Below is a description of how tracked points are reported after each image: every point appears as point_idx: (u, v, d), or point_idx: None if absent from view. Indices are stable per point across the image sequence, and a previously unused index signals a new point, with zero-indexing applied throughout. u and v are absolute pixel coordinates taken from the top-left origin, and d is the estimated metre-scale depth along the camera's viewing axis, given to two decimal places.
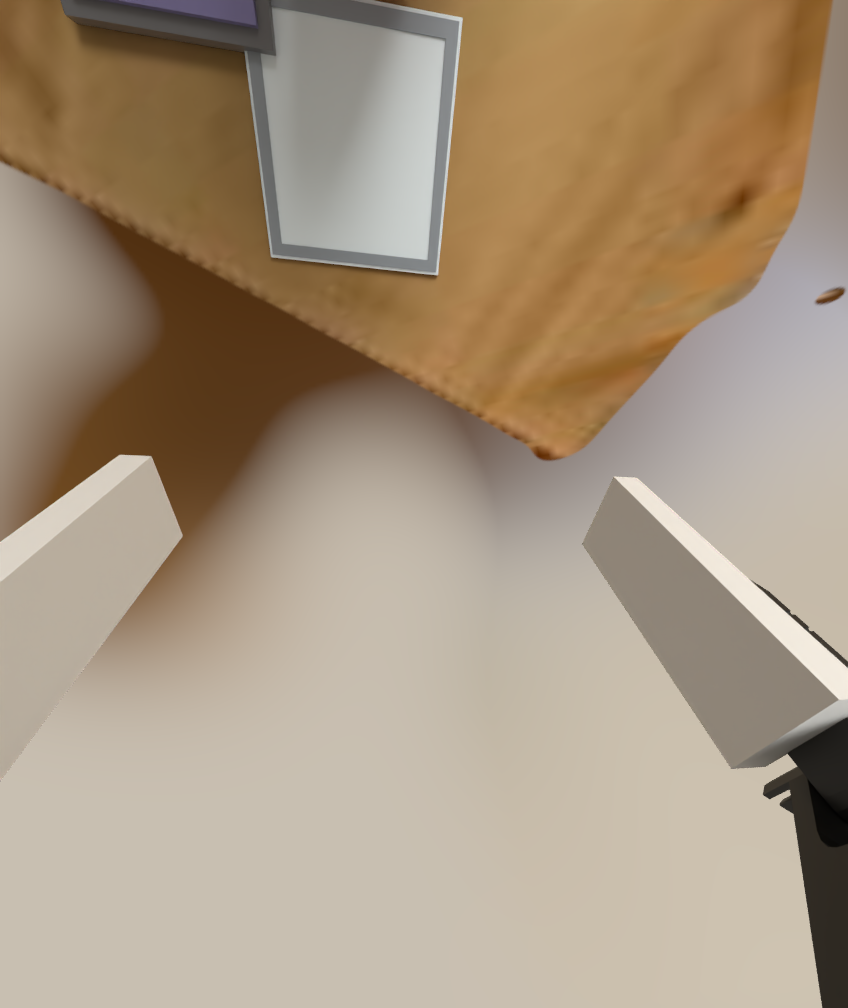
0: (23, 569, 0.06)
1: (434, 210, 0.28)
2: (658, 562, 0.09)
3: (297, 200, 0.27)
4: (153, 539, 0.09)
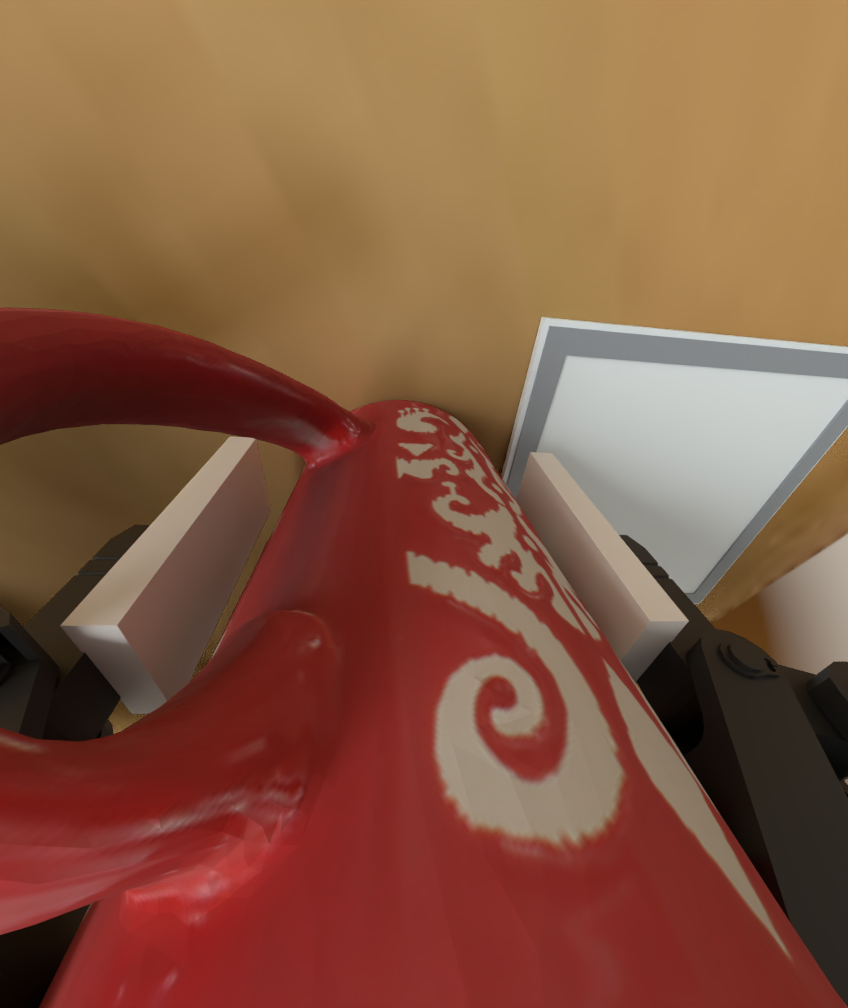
0: (197, 522, 0.07)
1: (795, 367, 0.13)
2: (554, 525, 0.10)
3: None
4: (256, 510, 0.11)
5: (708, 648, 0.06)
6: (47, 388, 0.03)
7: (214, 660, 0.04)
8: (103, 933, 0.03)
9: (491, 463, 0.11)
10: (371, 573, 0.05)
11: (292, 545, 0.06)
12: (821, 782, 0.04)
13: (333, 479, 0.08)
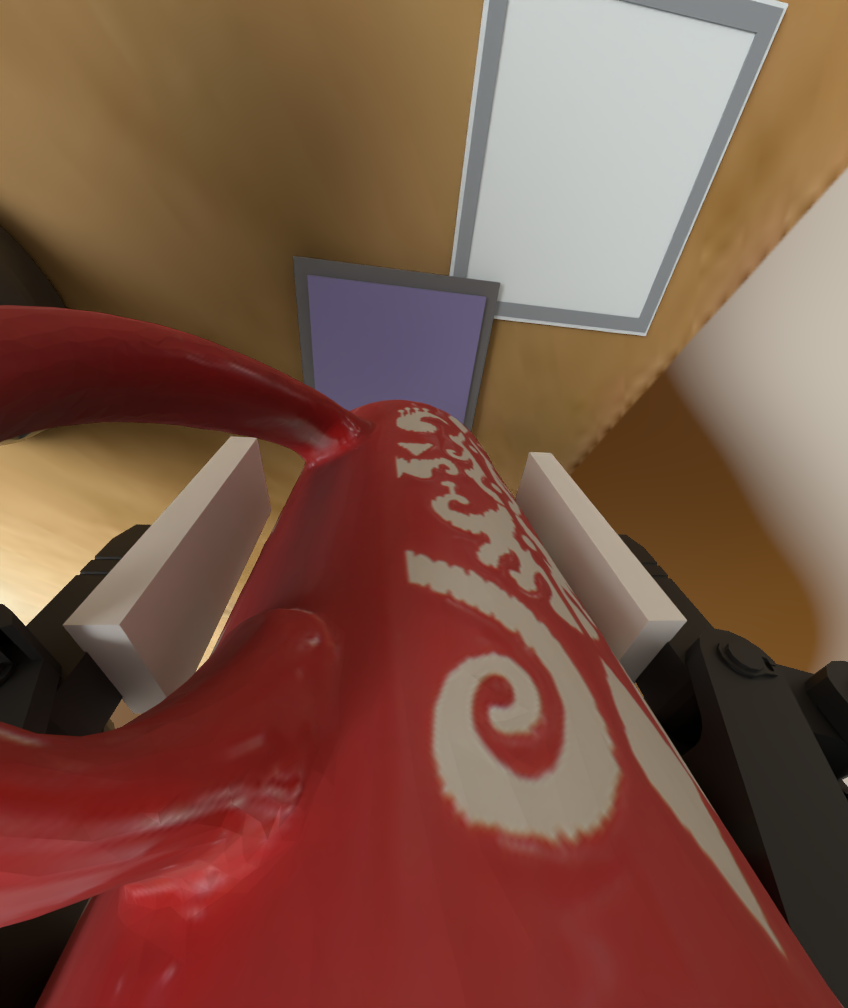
0: (198, 521, 0.07)
1: (696, 9, 0.16)
2: (554, 524, 0.10)
3: (608, 285, 0.22)
4: (257, 510, 0.11)
5: (707, 648, 0.06)
6: (48, 385, 0.03)
7: (213, 657, 0.04)
8: (102, 928, 0.03)
9: (490, 463, 0.11)
10: (371, 571, 0.05)
11: (291, 544, 0.06)
12: (819, 781, 0.04)
13: (333, 478, 0.08)
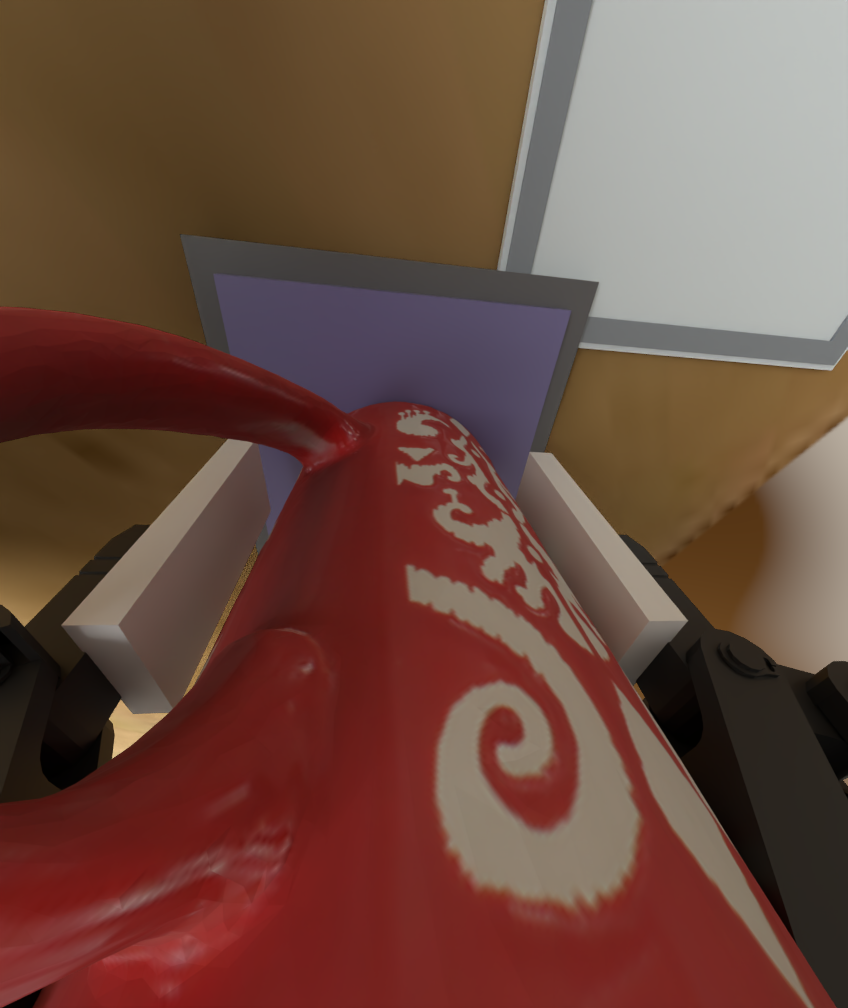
0: (198, 521, 0.07)
1: None
2: (554, 524, 0.10)
3: (792, 284, 0.12)
4: (256, 510, 0.11)
5: (707, 648, 0.06)
6: (12, 394, 0.03)
7: (198, 686, 0.04)
8: (69, 995, 0.03)
9: (493, 467, 0.11)
10: (369, 589, 0.05)
11: (286, 555, 0.06)
12: (820, 782, 0.04)
13: (330, 484, 0.08)
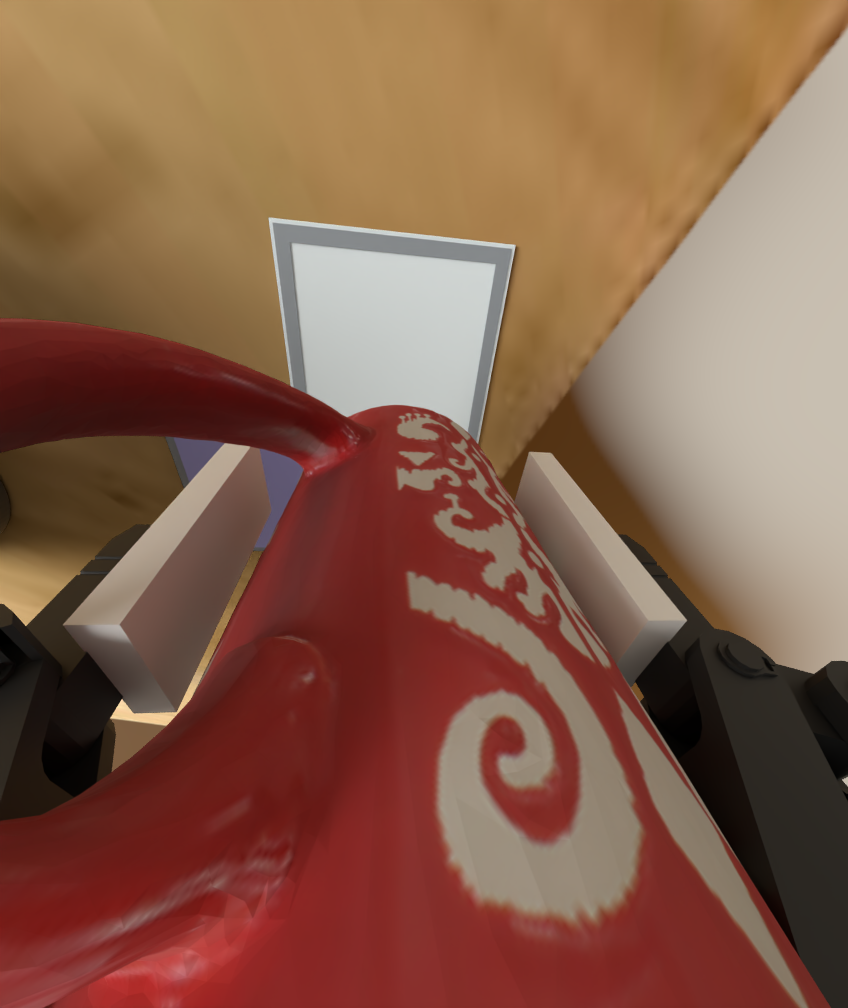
0: (199, 521, 0.07)
1: (442, 253, 0.21)
2: (554, 524, 0.10)
3: None
4: (257, 510, 0.11)
5: (706, 647, 0.06)
6: (14, 406, 0.03)
7: (199, 695, 0.04)
8: None
9: (494, 471, 0.11)
10: (369, 595, 0.05)
11: (287, 560, 0.06)
12: (819, 781, 0.04)
13: (331, 489, 0.08)
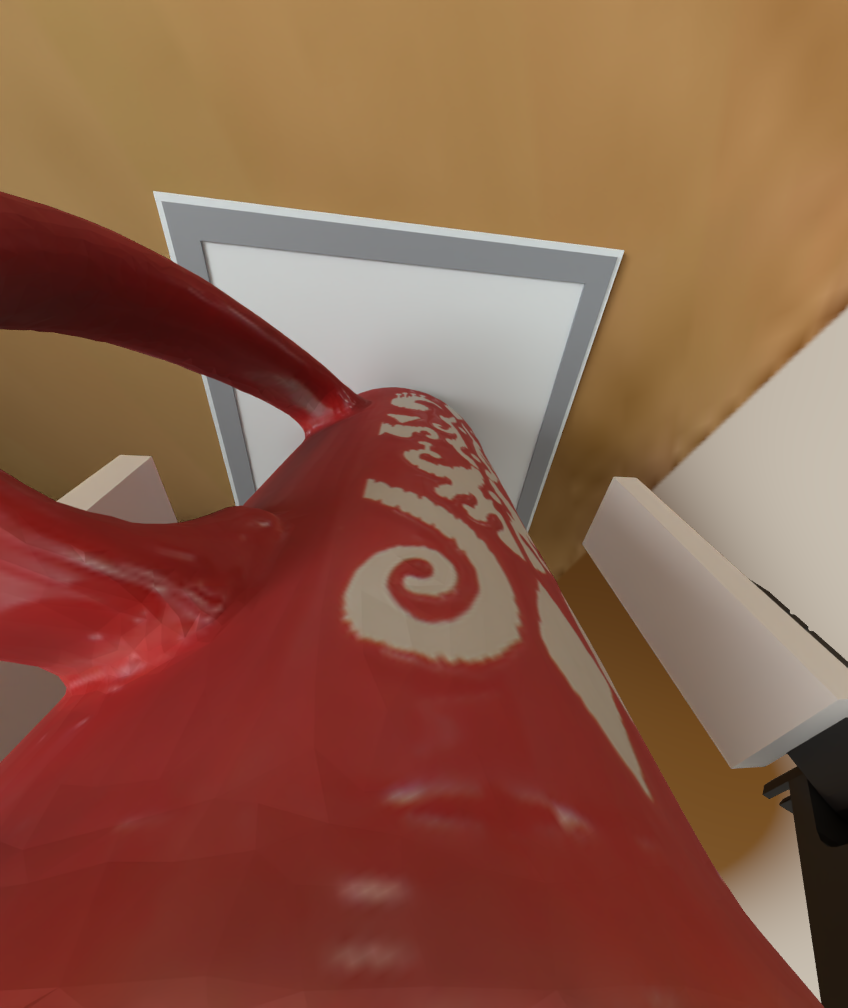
0: None
1: (490, 264, 0.11)
2: (658, 562, 0.09)
3: None
4: None
5: None
6: (63, 273, 0.04)
7: None
8: (41, 721, 0.03)
9: (480, 447, 0.11)
10: (331, 489, 0.05)
11: (272, 481, 0.07)
12: None
13: (322, 437, 0.09)
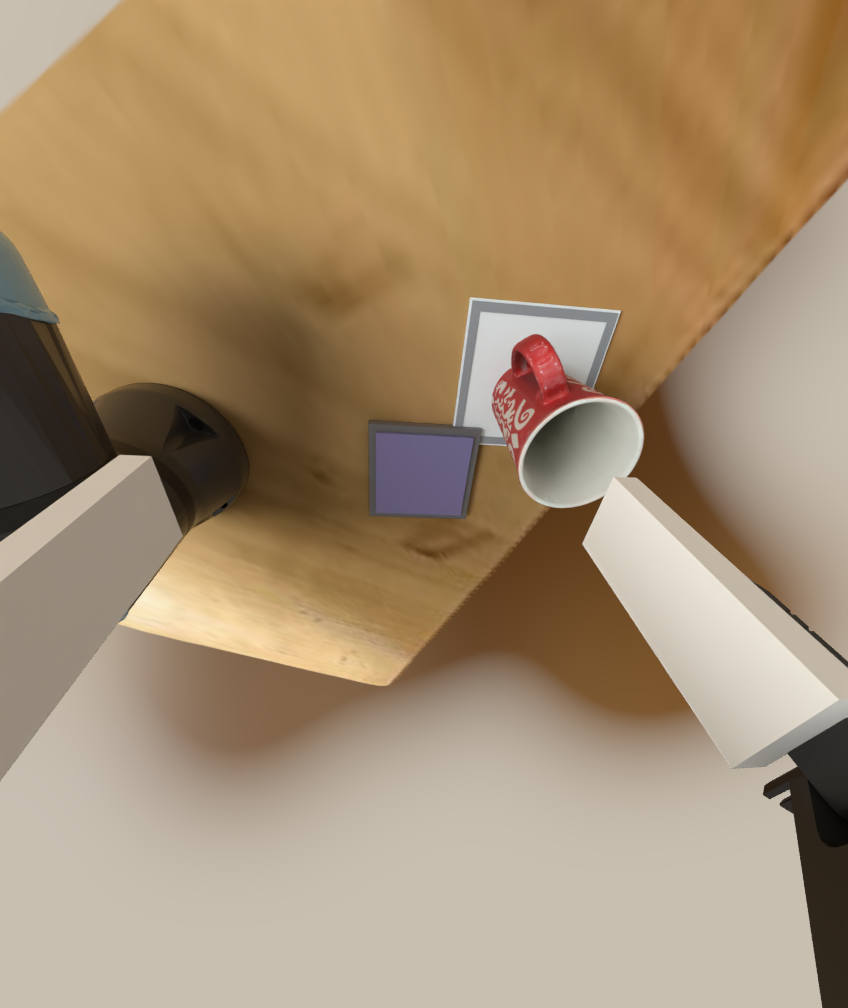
0: (23, 569, 0.06)
1: (573, 316, 0.32)
2: (658, 562, 0.09)
3: None
4: (153, 539, 0.09)
5: None
6: None
7: None
8: (544, 407, 0.25)
9: None
10: None
11: (534, 385, 0.28)
12: None
13: (533, 376, 0.30)
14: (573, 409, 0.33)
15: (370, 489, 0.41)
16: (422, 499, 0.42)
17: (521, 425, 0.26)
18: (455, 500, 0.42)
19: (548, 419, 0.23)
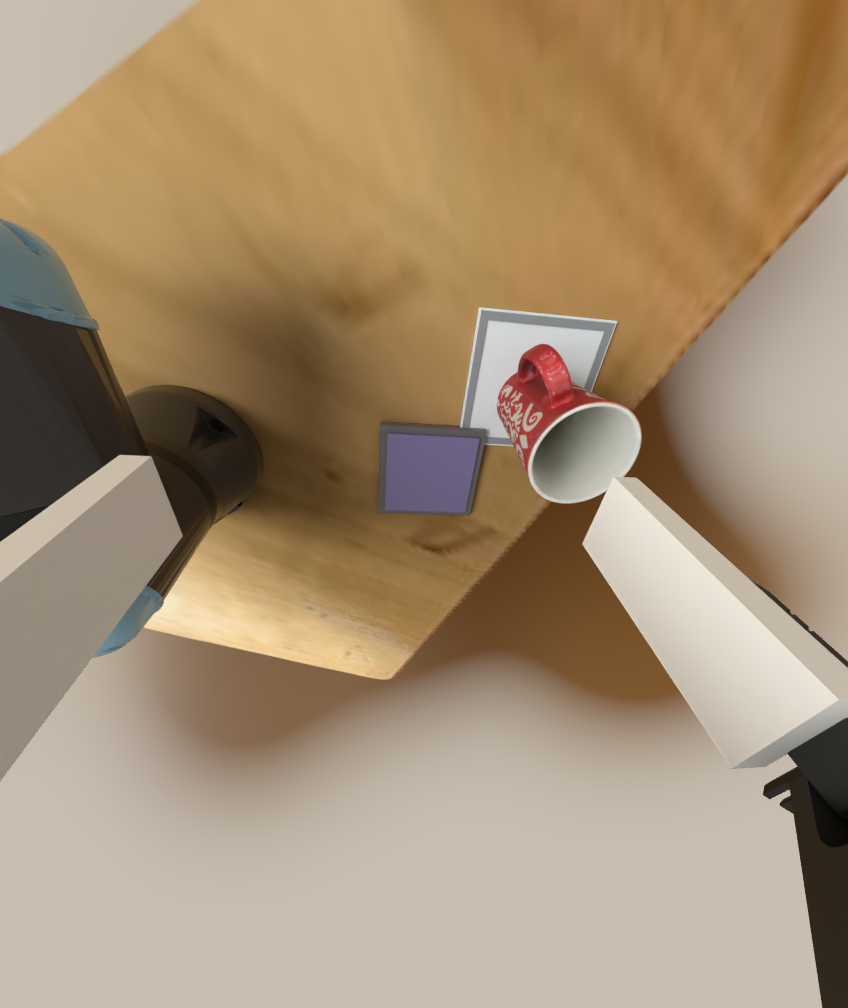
0: (23, 569, 0.06)
1: (574, 326, 0.34)
2: (658, 561, 0.09)
3: None
4: (153, 539, 0.09)
5: None
6: None
7: None
8: (552, 411, 0.27)
9: None
10: None
11: (540, 389, 0.31)
12: None
13: (538, 381, 0.32)
14: None
15: (380, 487, 0.43)
16: (429, 497, 0.44)
17: (530, 427, 0.28)
18: (460, 497, 0.44)
19: (556, 422, 0.26)
